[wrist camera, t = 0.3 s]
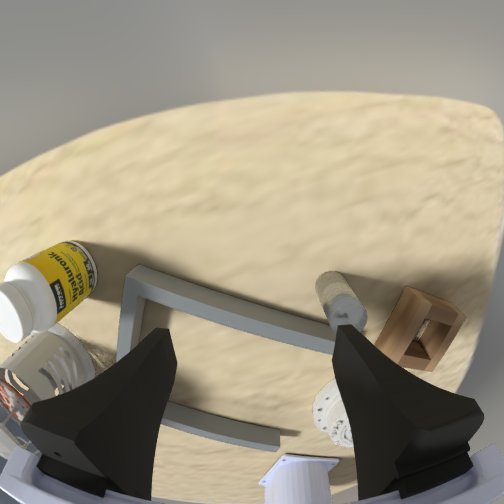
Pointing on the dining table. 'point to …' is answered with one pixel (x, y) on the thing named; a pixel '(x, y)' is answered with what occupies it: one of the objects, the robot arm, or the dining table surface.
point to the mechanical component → (332, 415)
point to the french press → (41, 376)
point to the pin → (340, 302)
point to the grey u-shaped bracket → (225, 313)
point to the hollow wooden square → (408, 323)
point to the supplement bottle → (45, 289)
